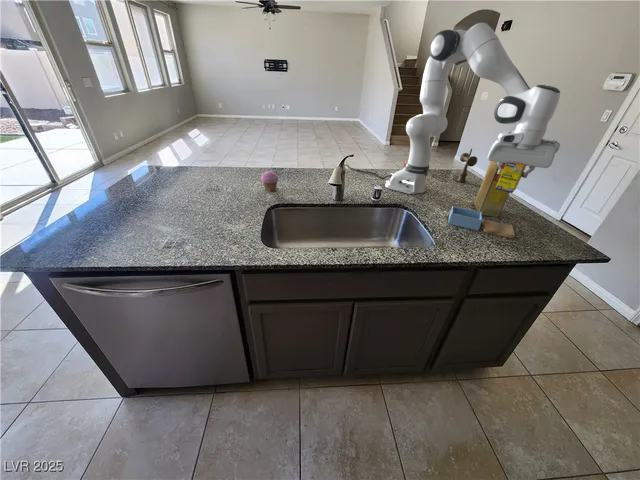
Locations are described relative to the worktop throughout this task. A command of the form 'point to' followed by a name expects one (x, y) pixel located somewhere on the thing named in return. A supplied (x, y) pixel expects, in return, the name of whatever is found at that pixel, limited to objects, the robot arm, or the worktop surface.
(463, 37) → the robot arm
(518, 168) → the supplement box
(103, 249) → the worktop surface
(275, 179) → the cupcake
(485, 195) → the food packaging
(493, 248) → the worktop surface
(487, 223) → the oak board
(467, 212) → the basket
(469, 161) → the kendama
